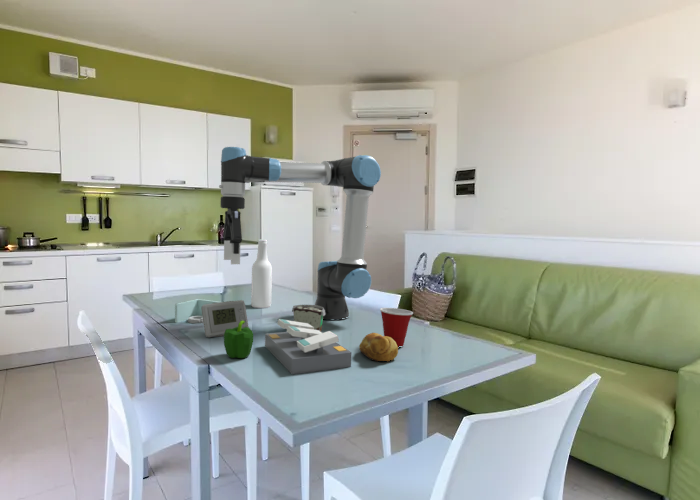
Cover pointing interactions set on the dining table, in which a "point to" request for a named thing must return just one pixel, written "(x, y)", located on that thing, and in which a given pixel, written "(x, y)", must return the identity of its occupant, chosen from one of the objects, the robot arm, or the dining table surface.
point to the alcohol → (261, 278)
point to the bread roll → (379, 347)
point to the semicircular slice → (309, 315)
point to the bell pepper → (238, 341)
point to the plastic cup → (395, 323)
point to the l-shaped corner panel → (191, 310)
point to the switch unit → (306, 354)
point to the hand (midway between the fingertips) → (231, 262)
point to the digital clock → (223, 317)
